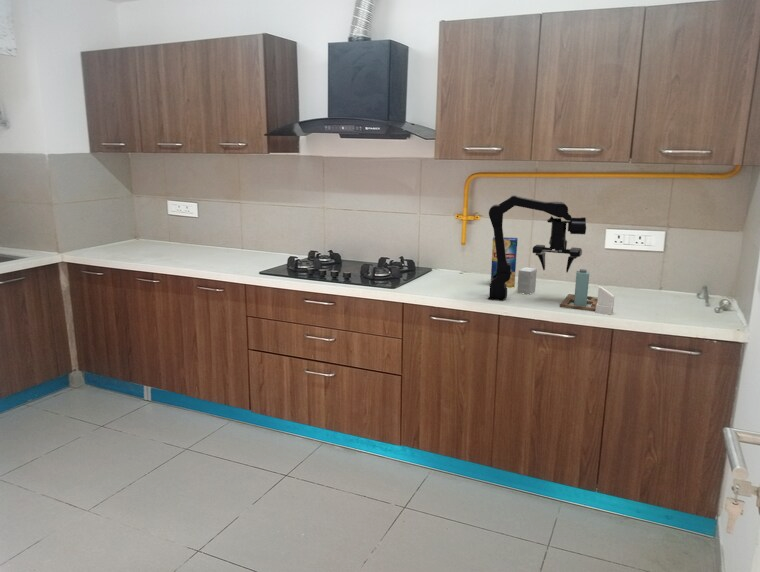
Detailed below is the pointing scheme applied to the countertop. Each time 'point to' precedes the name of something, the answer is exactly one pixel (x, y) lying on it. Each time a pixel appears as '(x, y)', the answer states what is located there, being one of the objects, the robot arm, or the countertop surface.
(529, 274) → the small box
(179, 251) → the countertop surface
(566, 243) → the robot arm
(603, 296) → the white wedge bracket
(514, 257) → the beverage box
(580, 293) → the teal tall rectangular block
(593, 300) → the socket board
